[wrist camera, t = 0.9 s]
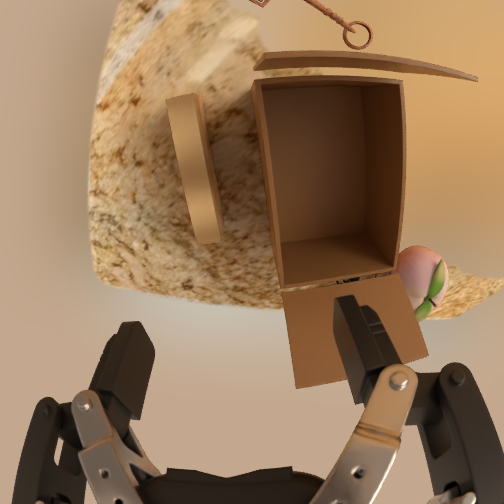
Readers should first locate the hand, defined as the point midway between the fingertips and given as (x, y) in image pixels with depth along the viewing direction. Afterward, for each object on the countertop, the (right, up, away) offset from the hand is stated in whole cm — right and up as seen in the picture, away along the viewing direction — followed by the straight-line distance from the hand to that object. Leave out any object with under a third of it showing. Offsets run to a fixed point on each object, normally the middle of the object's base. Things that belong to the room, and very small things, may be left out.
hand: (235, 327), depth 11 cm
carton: (+8, +12, +17) cm, 22 cm away
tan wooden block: (-5, +12, +16) cm, 21 cm away
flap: (+9, -3, +11) cm, 15 cm away
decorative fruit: (+21, +2, +24) cm, 32 cm away
